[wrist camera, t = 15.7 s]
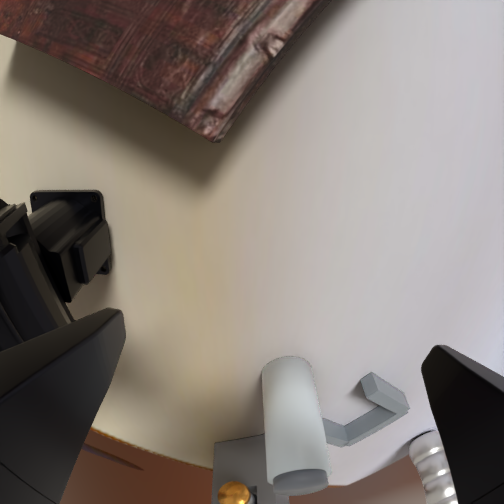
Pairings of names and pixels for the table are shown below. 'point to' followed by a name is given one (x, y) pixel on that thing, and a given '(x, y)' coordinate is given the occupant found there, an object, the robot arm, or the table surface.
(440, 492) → the plastic bottle
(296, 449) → the cylinder
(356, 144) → the table surface
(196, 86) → the hardback book
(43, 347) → the robot arm
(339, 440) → the cradle
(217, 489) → the block
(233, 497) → the plunger
